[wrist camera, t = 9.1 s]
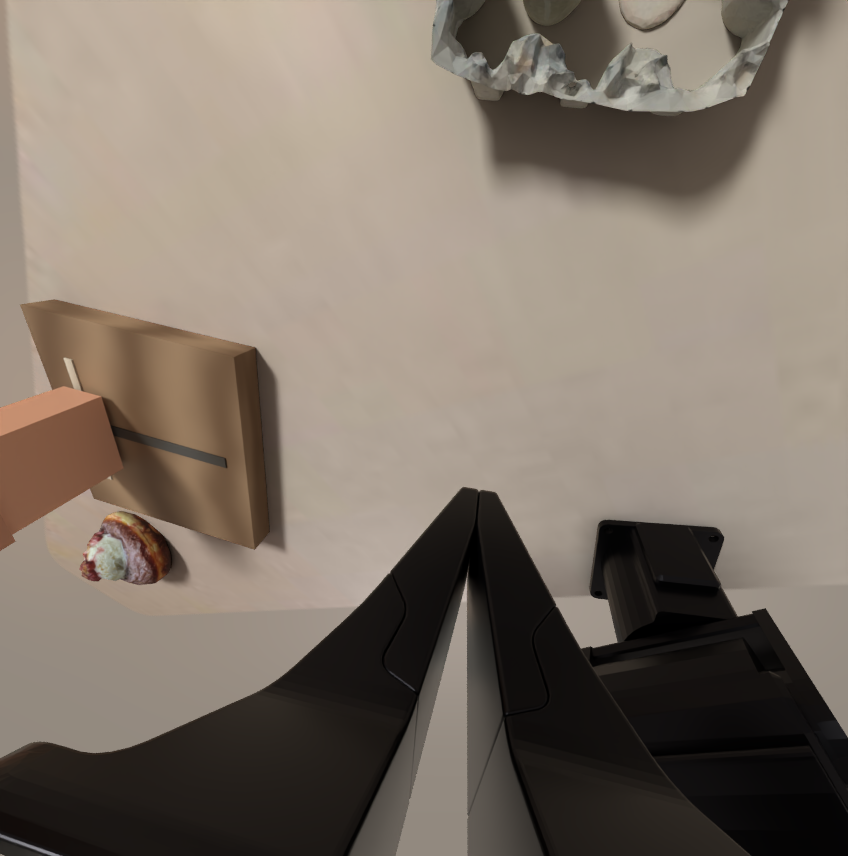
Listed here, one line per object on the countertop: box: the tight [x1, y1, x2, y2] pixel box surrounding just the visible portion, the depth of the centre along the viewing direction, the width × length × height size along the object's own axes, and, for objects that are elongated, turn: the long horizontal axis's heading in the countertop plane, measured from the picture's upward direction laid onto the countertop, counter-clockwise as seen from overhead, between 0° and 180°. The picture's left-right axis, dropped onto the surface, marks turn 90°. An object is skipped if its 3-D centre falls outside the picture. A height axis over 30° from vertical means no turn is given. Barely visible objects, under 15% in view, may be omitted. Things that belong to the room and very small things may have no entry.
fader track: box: [20, 300, 270, 550], centre depth 27 cm, size 15×16×2 cm
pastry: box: [79, 511, 171, 585], centre depth 35 cm, size 8×8×5 cm
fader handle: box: [0, 386, 123, 551], centre depth 23 cm, size 4×7×8 cm, turn 171°
